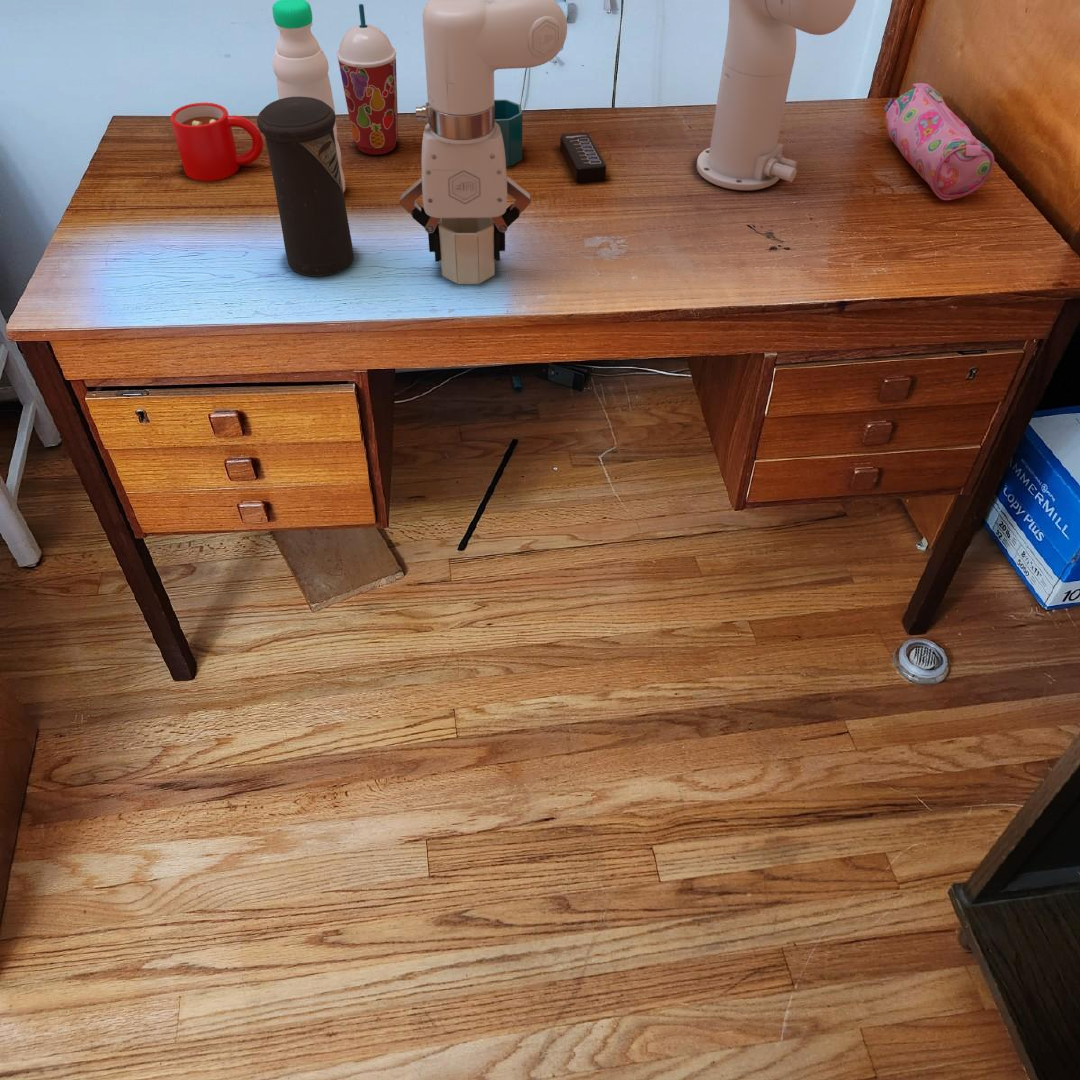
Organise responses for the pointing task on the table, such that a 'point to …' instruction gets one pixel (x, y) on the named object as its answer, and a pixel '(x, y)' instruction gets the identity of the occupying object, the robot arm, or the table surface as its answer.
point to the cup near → (467, 249)
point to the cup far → (510, 129)
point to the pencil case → (937, 143)
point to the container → (307, 184)
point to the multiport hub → (582, 157)
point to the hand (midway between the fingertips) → (467, 254)
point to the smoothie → (370, 87)
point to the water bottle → (301, 59)
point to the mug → (211, 141)
